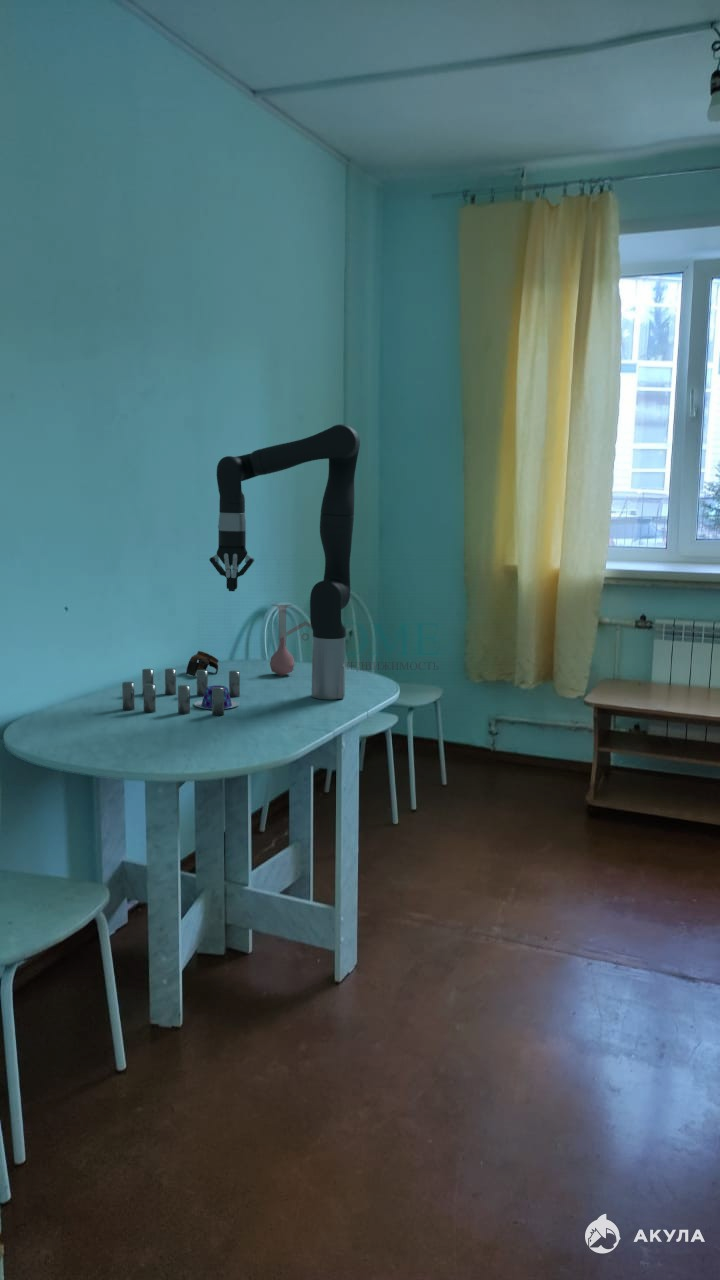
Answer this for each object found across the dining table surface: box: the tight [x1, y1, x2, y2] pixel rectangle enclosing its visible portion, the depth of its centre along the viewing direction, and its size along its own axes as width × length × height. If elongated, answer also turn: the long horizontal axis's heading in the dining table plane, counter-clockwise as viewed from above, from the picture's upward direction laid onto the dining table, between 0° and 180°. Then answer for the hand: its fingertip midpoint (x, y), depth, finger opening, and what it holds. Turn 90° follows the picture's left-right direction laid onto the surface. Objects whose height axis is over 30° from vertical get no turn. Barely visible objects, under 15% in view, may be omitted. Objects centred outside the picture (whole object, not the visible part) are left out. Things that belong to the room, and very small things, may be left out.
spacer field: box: [121, 668, 241, 717], centre depth 249 cm, size 27×25×7 cm
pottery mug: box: [185, 650, 220, 677], centre depth 288 cm, size 12×10×8 cm
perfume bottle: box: [269, 636, 295, 677], centre depth 290 cm, size 8×8×12 cm
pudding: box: [193, 684, 240, 710], centre depth 248 cm, size 12×12×5 cm
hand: (231, 590), depth 261 cm, fingers closed
